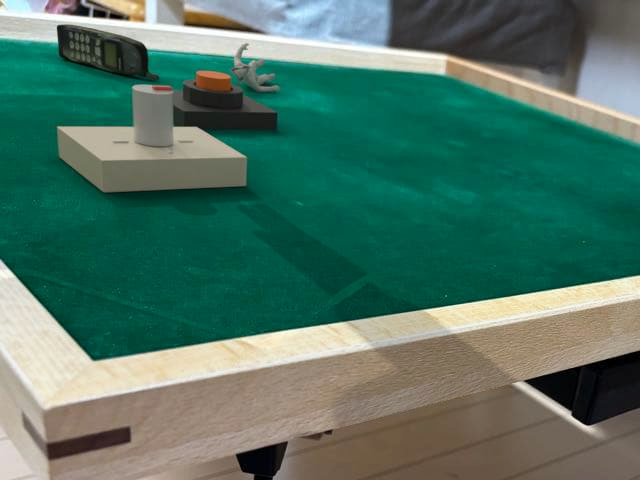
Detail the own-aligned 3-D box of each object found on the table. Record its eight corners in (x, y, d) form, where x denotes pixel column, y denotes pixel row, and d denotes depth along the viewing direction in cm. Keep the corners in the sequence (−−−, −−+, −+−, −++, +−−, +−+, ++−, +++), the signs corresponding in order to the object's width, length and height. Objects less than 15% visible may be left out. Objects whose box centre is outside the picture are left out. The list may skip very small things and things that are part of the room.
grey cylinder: (143, 147, 84) (141, 90, 82) (127, 136, 86) (125, 80, 84) (180, 146, 87) (179, 91, 84) (163, 136, 89) (163, 81, 86)
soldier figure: (288, 93, 136) (279, 80, 124) (263, 111, 136) (252, 100, 124) (255, 48, 134) (243, 32, 122) (229, 67, 134) (215, 52, 122)
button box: (184, 130, 103) (184, 95, 101) (148, 107, 109) (147, 74, 107) (277, 130, 111) (278, 97, 109) (238, 109, 117) (239, 78, 115)
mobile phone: (51, 21, 120) (147, 43, 117) (68, 21, 122) (161, 42, 120) (55, 60, 122) (148, 82, 120) (71, 58, 125) (163, 80, 122)
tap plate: (103, 192, 80) (101, 158, 78) (58, 157, 86) (56, 124, 85) (246, 186, 89) (247, 155, 88) (196, 154, 96) (197, 125, 94)
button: (205, 93, 106) (205, 78, 105) (190, 84, 108) (190, 70, 107) (236, 94, 108) (237, 79, 108) (221, 85, 111) (221, 71, 110)
